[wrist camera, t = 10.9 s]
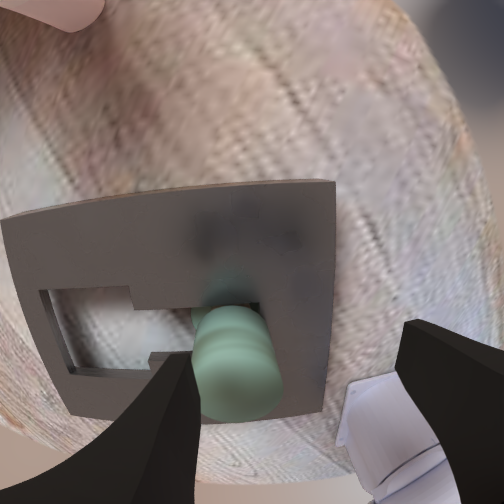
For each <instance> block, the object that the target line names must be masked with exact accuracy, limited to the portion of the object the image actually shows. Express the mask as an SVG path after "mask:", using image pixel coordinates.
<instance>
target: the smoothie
mask: <svg viewBox="0 0 504 504" xmlns="http://www.w3.org/2000/svg"><path fill="white" fill-rule="evenodd" d="M104 5H105V0H0V7H2V8H6V9H9V10H12V11H15V12H18V13H20V14H23V15H26V16H28V17H31V18H34V19H36V20H39V21H41V22H44V23H46V24H48V25H51V26H53V27H55V28H58V29H60V30H62V31H65V32H68V33H72V32H77V31H80V30H82V29H84V28H86V27H87V26H89V25H90V24H91V23H93V22H94V21H95V20H96V19H97V18H98V16H99V15H100V14H101V12H102V10H103V8H104Z"/></svg>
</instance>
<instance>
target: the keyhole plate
mask: <svg viewBox="0 0 504 504" xmlns="http://www.w3.org/2000/svg"><path fill="white" fill-rule="evenodd" d="M0 223H1V229H2V235H3V240H4V245H5V249H6V254H7V258H8V262H9V266H10V270H11V274H12V278H13V282H14V285H15V288H16V292H17V295H18V298H19V301H20V304H21V307H22V310H23V313H24V316H25V319H26V322H27V324H28V327H29V330H30V332H31V335H32V337H33V340H34V342H35V345H36V347H37V349H38V352H39V354H40V356H41V359H42V361H43V363H44V365H45V367H46V369H47V371H48V373H49V376H50V378H51V380H52V382H53V383H54V385H55V387H56V389H57V391H58V393H59V395H60V397H61V399H62V400H63V402H64V404H65V406H66V407H67V409H68V411H69V413H70V414H71V415H74V416H80V417H86V418H93V419H101V420H110V421H115V420H116V419H117V418H118V417H119V416H120V415H121V414H122V413H123V412H124V411H125V410H126V408H127V407H128V406H129V405H130V404H131V403H132V402H133V401H134V400H135V398H136V397H137V396H138V395H139V394H140V392H141V391H142V390H143V389H144V387H145V386H146V385H147V384H148V382H149V381H150V380H151V379H152V377H153V376H154V375H155V373H156V372H157V371H158V369H159V368H160V367H161V365H162V364H163V363H164V361H165V360H166V359H167V357H168V356H169V355H170V354H181V353H190V357H191V360H192V353H193V351H177V352H151V354H150V357H149V360H148V363H149V366H150V369H151V370H132V369H105V368H89V367H76V366H74V363H73V361H72V359H71V356H70V354H69V351H68V349H67V346H66V344H65V341H64V338H63V336H62V333H61V330H60V327H59V325H58V322H57V319H56V316H55V313H54V310H53V307H52V303H51V300H50V297H49V293H48V290H47V289H70V288H92V287H112V286H129V290H130V294H131V299H132V303H133V307H134V310H152V309H173V308H190V307H206V306H220V305H232V304H245V303H256V302H258V314H259V315H260V316H261V317H262V318H263V319H264V320H265V322H266V324H267V326H268V329H269V333H270V336H271V340H272V344H273V348H274V351H275V355H276V359H277V363H278V367H279V370H280V374H281V378H282V382H283V387H284V391H283V396H282V399H281V400H280V402H279V404H278V405H277V406H276V407H275V408H274V409H273V410H272V411H271V412H270V413H268V414H267V415H265V416H263V417H261V418H259V419H256V420H253V421H261V420H270V419H278V418H285V417H292V416H298V415H304V414H310V413H316V412H321V411H322V406H323V398H324V391H325V383H326V375H327V366H328V357H329V347H330V336H331V324H332V311H333V295H334V276H335V247H336V182H335V181H329V180H323V179H293V180H269V181H251V182H236V183H222V184H210V185H199V186H188V187H179V188H169V189H161V190H152V191H144V192H136V193H129V194H122V195H115V196H108V197H102V198H95V199H89V200H83V201H77V202H72V203H66V204H61V205H56V206H50V207H45V208H40V209H36V210H31V211H26V212H22V213H19V214H16V215H13V216H10V217H7V218H4V219H2V220H0ZM249 422H251V421H249ZM224 423H226V422H221V421H217V420H214V419H211V418H209V417H207V416H205V415H203V414H202V413H201V424H224Z"/></svg>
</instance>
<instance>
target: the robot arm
mask: <svg viewBox="0 0 504 504" xmlns="http://www.w3.org/2000/svg"><path fill="white" fill-rule="evenodd" d="M394 368H395V370H396V371H395V372H391V373H387V374H383V375H380V376H376V377H372V378H368V379H363V380H359V381H355V382H351V383H350V384H349V385H348V387H347V391H346V396H345V401H344V406H343V411H342V415H341V420H340V424H339V428H338V432H337V436H336V440H335V445H336V447H341V446H345V447H346V449H347V451H348V454H349V456H350V459H351V461H352V464H353V466H354V469H355V471H356V474H357V476H358V479H359V481H360V483H361V485H362V487H363V488H364V489H365V490H366V491H367V492H368V493H370V494H371V495H373V498H374V500H372V501H370V502H369V503H368V504H504V351H503V350H500V349H497V348H494V347H491V346H488V345H485V344H482V343H480V342H477V341H474V340H472V339H469V338H467V337H464V336H462V335H459V334H457V333H455V332H452V331H450V330H447V329H445V328H443V327H440V326H438V325H435V324H432V323H430V322H427V321H424V320H421V319H415V320H411V321H407V322H404V327H403V332H402V337H401V342H400V346H399V351H398V355H397V359H396V363H395V367H394ZM200 430H201V398H200V394H199V390H198V386H197V382H196V378H195V374H194V370H193V366H192V362H191V357H190V353H181V354H170V355H169V356H168V357H167V359H166V360H165V361H164V363H163V364H162V365H161V367H160V368H159V369H158V371H157V372H156V373H155V375H154V376H153V377H152V379H151V380H150V381H149V382H148V384H147V385H146V386H145V387H144V389H143V390H142V391H141V392H140V394H139V395H138V396H137V397H136V398H135V400H134V401H133V402H132V403H131V404H130V405H129V406H128V407H127V408H126V410H125V411H124V412H123V413H122V414H121V415H120V416H119V417H118V418H117V419H116V420H115V421H114V422H113V423H112V424H111V425H110V426H109V427H108V428H107V429H106V430H105V431H104V432H102V433H101V434H100V435H99V436H98V437H97V438H96V439H94V440H93V441H92V442H91V443H89V444H88V445H86V446H85V447H84V448H82V449H81V450H79V451H78V452H77V453H75V454H74V455H72V456H71V457H70V458H68V459H67V460H65V461H64V462H62V463H60V464H58V465H57V466H55V467H54V468H52V469H50V470H48V471H46V472H44V473H42V474H40V475H38V476H36V477H34V478H32V479H29V480H27V481H24V482H22V483H19V484H16V485H14V486H11V487H8V488H5V489H2V490H0V504H194V487H195V474H196V465H197V456H198V448H199V439H200Z"/></svg>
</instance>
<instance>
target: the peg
mask: <svg viewBox="0 0 504 504" xmlns="http://www.w3.org/2000/svg"><path fill="white" fill-rule="evenodd" d="M191 319H192V323H193V325H194V327H195V329H196V333H195V340H194V347H193V353H192V360H191V362H192V366H193V370H194V374H195V378H196V382H197V386H198V390H199V394H200V398H201V413H202V414H203V415H205V416H207V417H209V418H211V419H214V420H217V421H221V422H226V423H243V422H249V421H253V420H256V419H259V418H261V417H263V416H265V415H267V414H268V413H270V412H271V411H272V410H273V409H274V408H275V407H276V406H277V405H278V404H279V402H280V400H281V399H282V396H283V391H284V387H283V382H282V378H281V374H280V370H279V367H278V363H277V359H276V355H275V351H274V348H273V344H272V340H271V336H270V333H269V329H268V326H267V324H266V322H265V320H264V319H263V318H262V317H261V316H260V315H259V314H258V302H256V303H245V304H232V305H220V306H206V307H191Z"/></svg>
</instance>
